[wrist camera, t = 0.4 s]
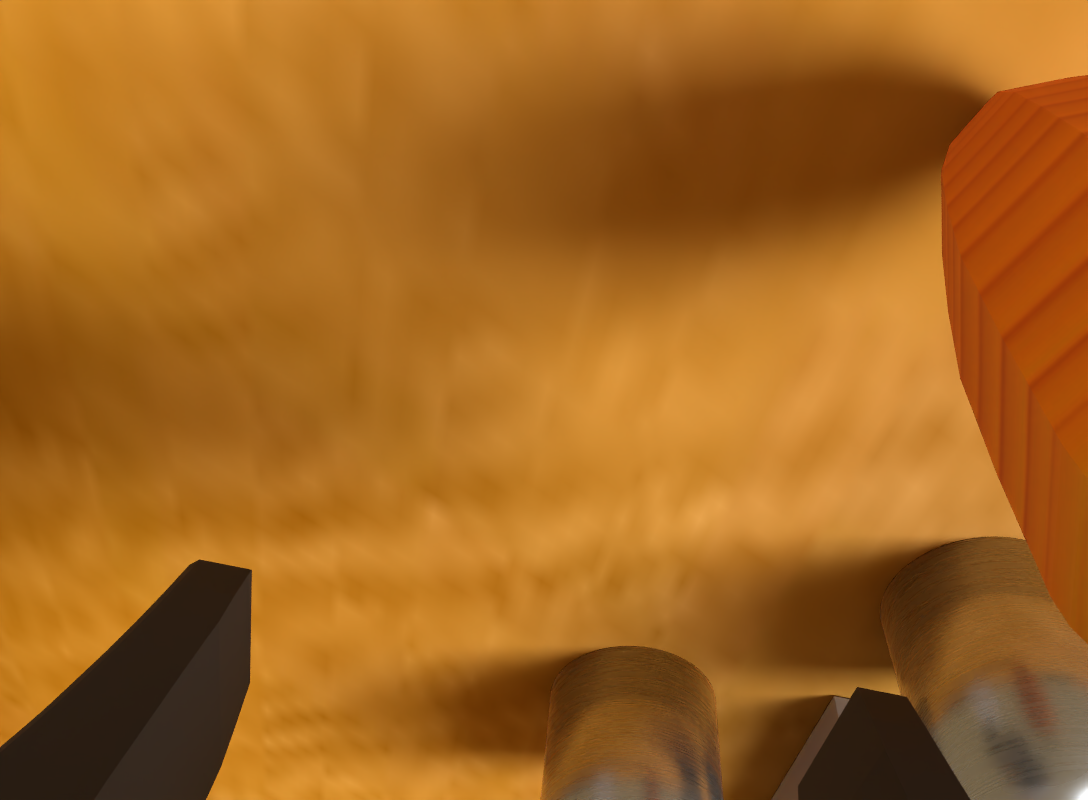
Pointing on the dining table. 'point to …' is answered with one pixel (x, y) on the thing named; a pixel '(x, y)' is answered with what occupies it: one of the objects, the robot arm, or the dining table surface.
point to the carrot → (1027, 313)
